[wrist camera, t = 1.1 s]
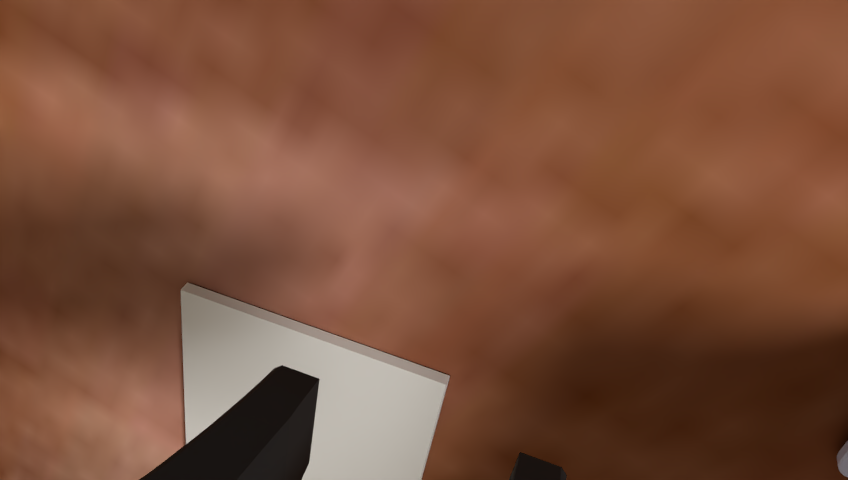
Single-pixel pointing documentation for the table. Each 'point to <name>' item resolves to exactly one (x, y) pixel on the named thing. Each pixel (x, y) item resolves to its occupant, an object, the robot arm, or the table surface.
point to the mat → (337, 394)
